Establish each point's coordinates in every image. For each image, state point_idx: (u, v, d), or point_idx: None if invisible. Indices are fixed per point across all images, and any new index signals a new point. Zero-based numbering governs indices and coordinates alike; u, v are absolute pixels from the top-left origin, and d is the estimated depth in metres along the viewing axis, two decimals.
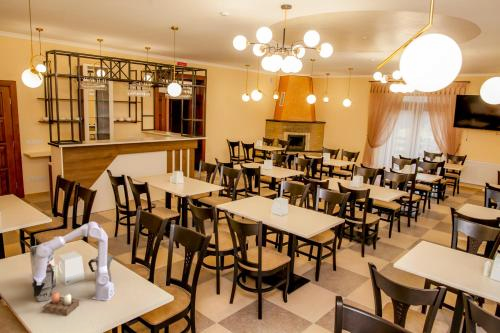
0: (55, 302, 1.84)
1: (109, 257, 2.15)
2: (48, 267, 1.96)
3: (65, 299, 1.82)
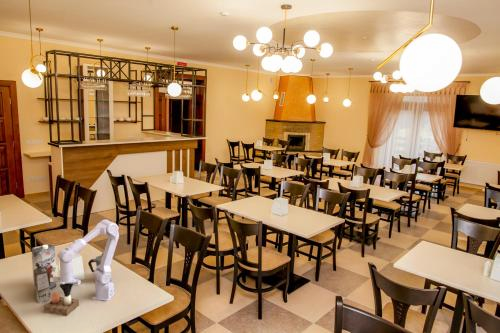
0: (55, 302, 1.84)
1: None
2: (44, 268, 1.95)
3: (65, 299, 1.82)
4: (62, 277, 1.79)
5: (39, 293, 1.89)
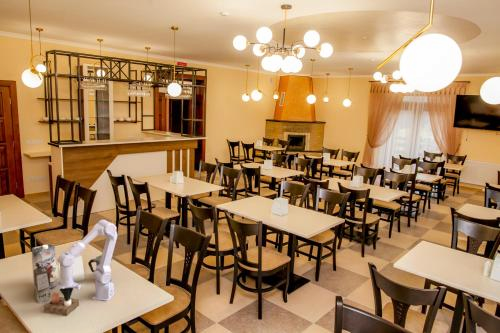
0: (55, 302, 1.84)
1: None
2: (44, 268, 1.95)
3: (65, 304, 1.83)
4: (62, 281, 1.79)
5: (39, 293, 1.89)
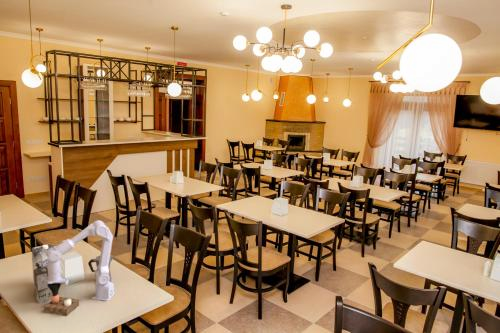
0: (55, 303, 1.84)
1: None
2: (44, 268, 1.95)
3: (65, 304, 1.83)
4: (50, 277, 1.80)
5: (39, 293, 1.89)
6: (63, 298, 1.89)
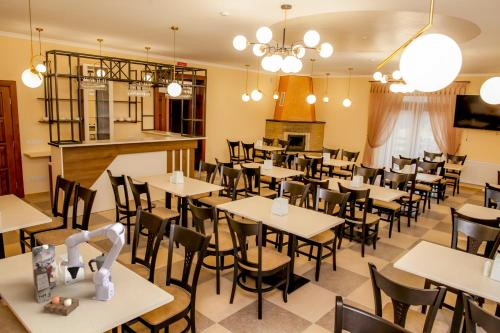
0: None
1: None
2: (44, 268, 1.95)
3: (65, 304, 1.83)
4: (69, 261, 1.93)
5: (39, 293, 1.89)
6: (63, 298, 1.89)
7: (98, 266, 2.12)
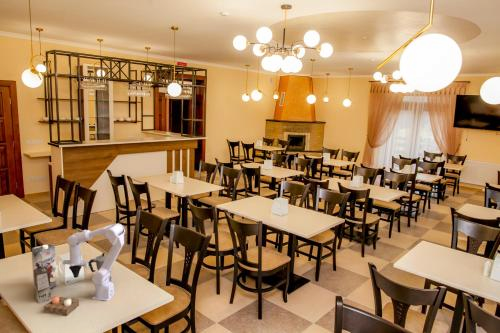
0: None
1: None
2: (44, 268, 1.95)
3: (65, 304, 1.83)
4: (71, 259, 1.95)
5: (39, 293, 1.89)
6: (63, 298, 1.89)
7: (98, 266, 2.12)
